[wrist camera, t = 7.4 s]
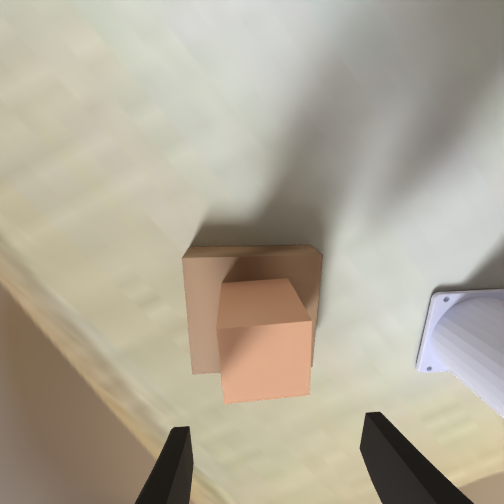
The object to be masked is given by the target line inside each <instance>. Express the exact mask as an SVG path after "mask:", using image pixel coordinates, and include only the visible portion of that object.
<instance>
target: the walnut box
mask: <svg viewBox="0 0 504 504" xmlns="http://www.w3.org/2000/svg"><path fill="white" fill-rule="evenodd" d="M322 259H323V255H322V254H321V253H320V252H319V251H318V250H316V249H315V248H314V247H313V246H311V245H268V246H209V247H189V248H188V250H187V251H186V253H185V254H184V256H183V257H182V263H183V274H184V286H185V297H186V309H187V320H188V331H189V343H190V354H191V365H192V374H206V373H221V370H220V361H219V351H218V342H217V333H216V326H217V317H218V308H219V300H220V291H221V283H229V282H242V281H255V280H269V279H282V278H288V279H289V281H290V283H291V284H292V286H293V288H294V290H295V291H296V293H297V295H298V297H299V299H300V300H301V302H302V304H303V306H304V307H305V309H306V311H307V313H308V315H309V316H310V318H311V320H312V338H311V367H312V364H313V353H314V343H315V332H316V322H317V311H318V301H319V290H320V280H321V269H322Z"/></svg>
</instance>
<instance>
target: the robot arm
mask: <svg viewBox="0 0 504 504" xmlns="http://www.w3.org/2000/svg"><path fill="white" fill-rule="evenodd" d="M416 369H417V370H418V371H419V372H420V373H432V372H445V371H450V372H451V373H452V374H453V375H454V376H455V377H457V378H458V379H459V380H460V381H461V382H462V383H463V384H464V385H466V386H467V387H468V388H469V389H470V390H471V391H472V392H474V393H475V394H476V395H477V396H478V397H479V398H480V399H482V400H483V401H484V402H485V403H486V404H487V405H488V406H489V407H491V408H492V409H493V410H494V411H495V412H496V413H497V414H499V415H500V416H501V417H502V418H503V419H504V289H489V290H470V291H450V292H437V293H435V294H434V295H433V296H432V298H431V303H430V307H429V311H428V316H427V320H426V325H425V329H424V333H423V338H422V342H421V347H420V351H419V356H418V360H417V364H416ZM360 451H361V453H362V456H363V459H364V462H365V465H366V467H367V470H368V472H369V475H370V478H371V480H372V483H373V485H374V487H375V489H376V491H377V493H378V495H379V498H380V500H381V502H382V504H474V503H473V502H472V501H471V500H469V499H468V498H467V497H466V496H465V495H464V494H463V493H462V492H461V491H460V490H459V489H457V488H456V487H455V486H454V485H453V484H452V483H451V482H450V481H449V480H448V479H447V478H446V477H445V476H444V475H443V474H442V473H441V472H440V471H439V470H438V469H437V468H436V467H435V466H433V465H432V464H431V463H430V462H429V461H428V460H427V459H426V458H425V457H424V456H423V455H422V454H421V453H420V452H419V451H418V450H417V449H416V448H415V447H414V446H413V445H412V444H411V443H410V442H409V441H408V440H407V439H406V438H405V437H404V436H403V435H402V434H401V433H400V431H399V430H398V429H397V428H396V427H395V426H394V425H393V424H392V423H391V422H390V421H389V420H388V419H387V418H386V417H385V416H384V415H383V414H382V413H381V412H369V413H366V415H365V420H364V426H363V432H362V438H361V444H360ZM193 463H194V462H193V454H192V445H191V436H190V427H189V426H186V427H174V428H173V429H171V431H170V434H169V436H168V438H167V440H166V443H165V445H164V447H163V449H162V451H161V453H160V456H159V458H158V460H157V462H156V464H155V466H154V468H153V470H152V472H151V474H150V476H149V478H148V480H147V481H146V483H145V485H144V487H143V489H142V491H141V493H140V495H139V497H138V498H137V500H136V503H135V504H189V500H190V491H191V482H192V473H193Z"/></svg>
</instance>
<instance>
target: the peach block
mask: <svg viewBox="0 0 504 504" xmlns="http://www.w3.org/2000/svg"><path fill="white" fill-rule="evenodd" d="M216 333H217V342H218V351H219V361H220V370H221V379H222V388H223V398H224V404H229V403H239V402H248V401H258V400H267V399H277V398H286V397H295V396H305V395H310V370H311V338H312V320H311V318H310V316H309V315H308V313H307V311H306V309H305V307H304V306H303V304H302V302H301V300H300V299H299V297H298V295H297V293H296V291H295V290H294V288H293V286H292V284H291V283H290V281H289V279H288V278H282V279H269V280H255V281H242V282H229V283H221V291H220V300H219V308H218V317H217V326H216Z"/></svg>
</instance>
